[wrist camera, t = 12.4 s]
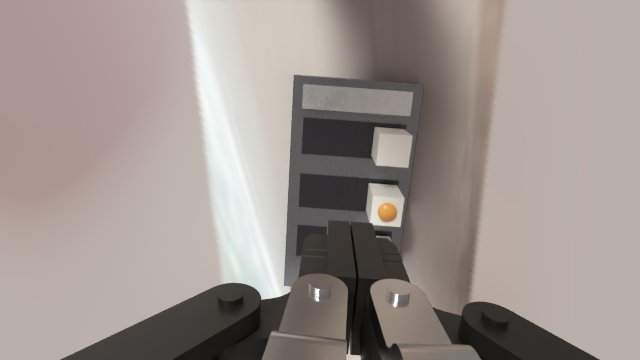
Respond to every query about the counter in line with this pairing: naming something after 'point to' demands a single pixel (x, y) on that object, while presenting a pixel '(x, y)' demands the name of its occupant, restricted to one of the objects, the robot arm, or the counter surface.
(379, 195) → the block
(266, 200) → the counter surface
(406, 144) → the block
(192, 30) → the counter surface
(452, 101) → the counter surface
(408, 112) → the panel
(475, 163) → the counter surface
